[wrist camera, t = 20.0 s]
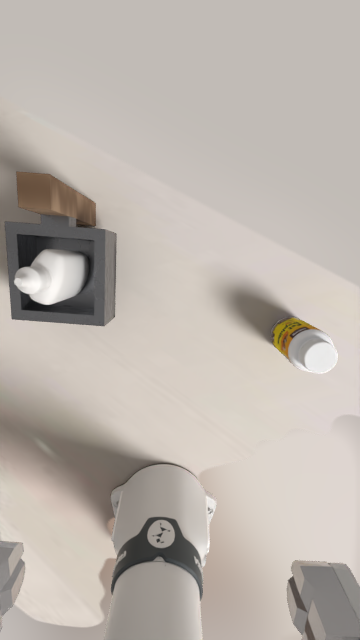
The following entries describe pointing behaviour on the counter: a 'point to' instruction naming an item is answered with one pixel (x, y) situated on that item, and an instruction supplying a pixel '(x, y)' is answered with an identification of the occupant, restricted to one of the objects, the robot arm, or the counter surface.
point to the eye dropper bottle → (53, 276)
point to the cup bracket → (61, 234)
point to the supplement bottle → (304, 345)
